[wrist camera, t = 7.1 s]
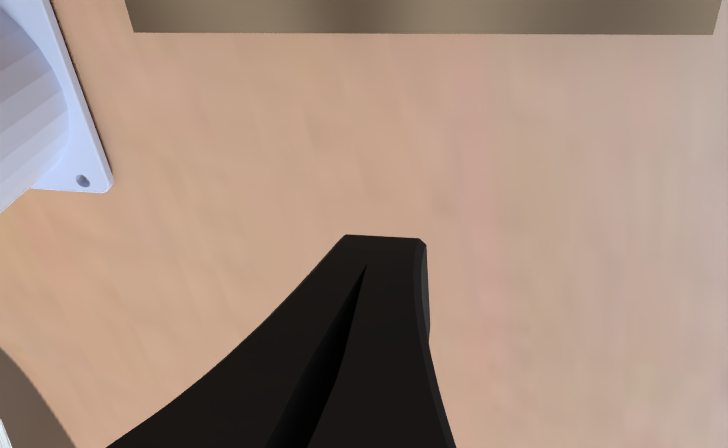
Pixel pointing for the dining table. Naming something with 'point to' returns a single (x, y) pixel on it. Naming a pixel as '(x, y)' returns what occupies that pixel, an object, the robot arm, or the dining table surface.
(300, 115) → the dining table surface
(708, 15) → the walnut board
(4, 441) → the syrup box
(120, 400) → the dining table surface
